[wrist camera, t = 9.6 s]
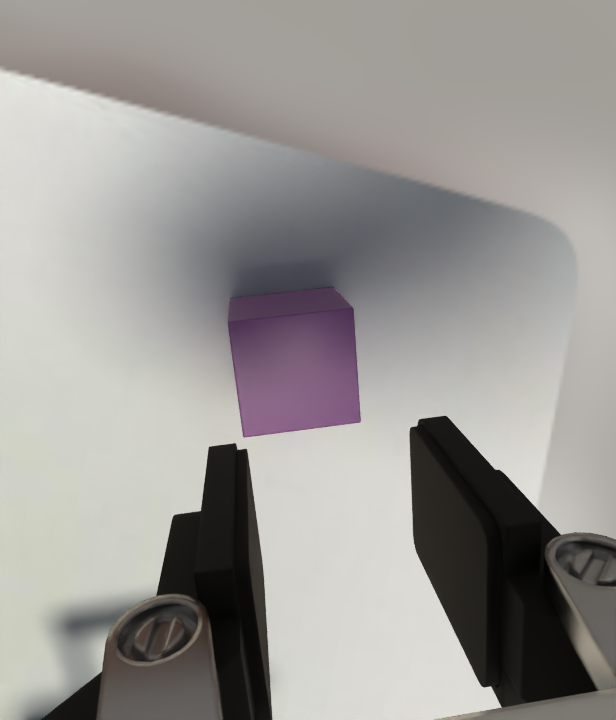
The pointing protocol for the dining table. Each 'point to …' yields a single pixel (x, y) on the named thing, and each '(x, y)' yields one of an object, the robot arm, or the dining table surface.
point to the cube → (294, 361)
